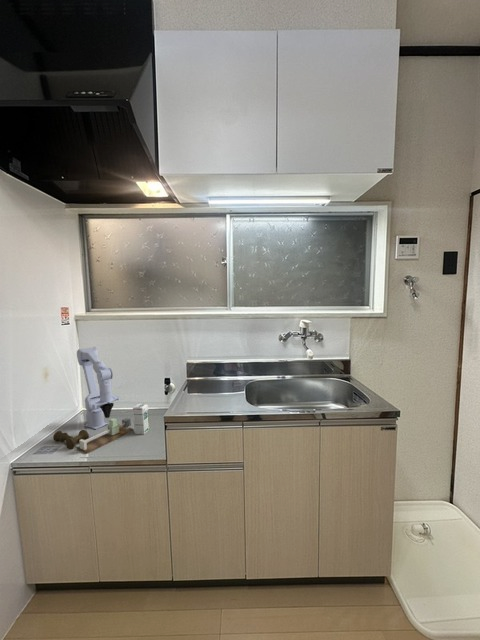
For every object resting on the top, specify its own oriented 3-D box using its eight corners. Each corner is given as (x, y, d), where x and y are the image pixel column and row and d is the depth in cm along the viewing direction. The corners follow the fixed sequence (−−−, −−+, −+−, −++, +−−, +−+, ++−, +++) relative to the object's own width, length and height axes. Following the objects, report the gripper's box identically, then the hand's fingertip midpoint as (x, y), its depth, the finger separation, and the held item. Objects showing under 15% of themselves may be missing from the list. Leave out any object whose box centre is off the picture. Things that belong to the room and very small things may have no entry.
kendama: (65, 436, 164) (95, 442, 157) (49, 446, 155) (79, 452, 148) (64, 426, 164) (94, 430, 156) (47, 434, 155) (78, 440, 147)
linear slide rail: (84, 450, 147) (83, 440, 147) (80, 448, 149) (79, 438, 149) (131, 427, 170) (130, 419, 170) (126, 426, 172) (126, 417, 172)
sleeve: (112, 435, 160) (111, 421, 160) (108, 433, 162) (107, 420, 161) (119, 432, 164) (118, 418, 163) (114, 430, 166) (113, 417, 165)
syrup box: (144, 434, 164) (143, 407, 163) (134, 433, 165) (132, 407, 164) (149, 429, 170) (148, 403, 168) (139, 428, 171) (138, 403, 169)
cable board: (86, 453, 146) (86, 451, 146) (76, 449, 150) (76, 447, 150) (133, 430, 169) (133, 428, 169) (123, 427, 173) (123, 425, 173)
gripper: (97, 397, 154) (99, 424, 156) (122, 389, 167) (123, 413, 168) (89, 395, 158) (90, 421, 159) (113, 387, 170) (115, 411, 172)
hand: (107, 417), depth 164 cm, fingers closed
